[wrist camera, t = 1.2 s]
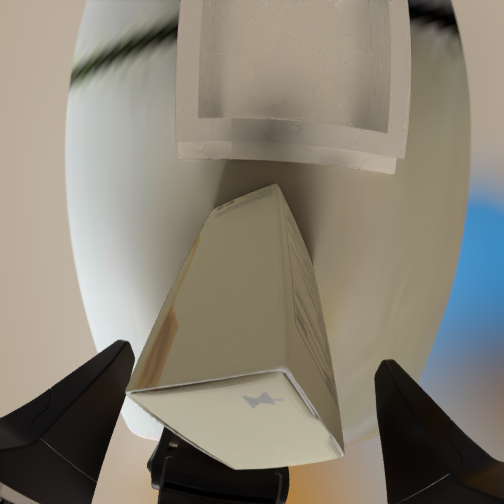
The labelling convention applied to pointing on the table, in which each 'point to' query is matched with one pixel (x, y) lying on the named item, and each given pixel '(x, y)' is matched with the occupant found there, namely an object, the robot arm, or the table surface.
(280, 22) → the square open tray
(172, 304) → the skincare box
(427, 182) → the table surface
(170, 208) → the table surface
